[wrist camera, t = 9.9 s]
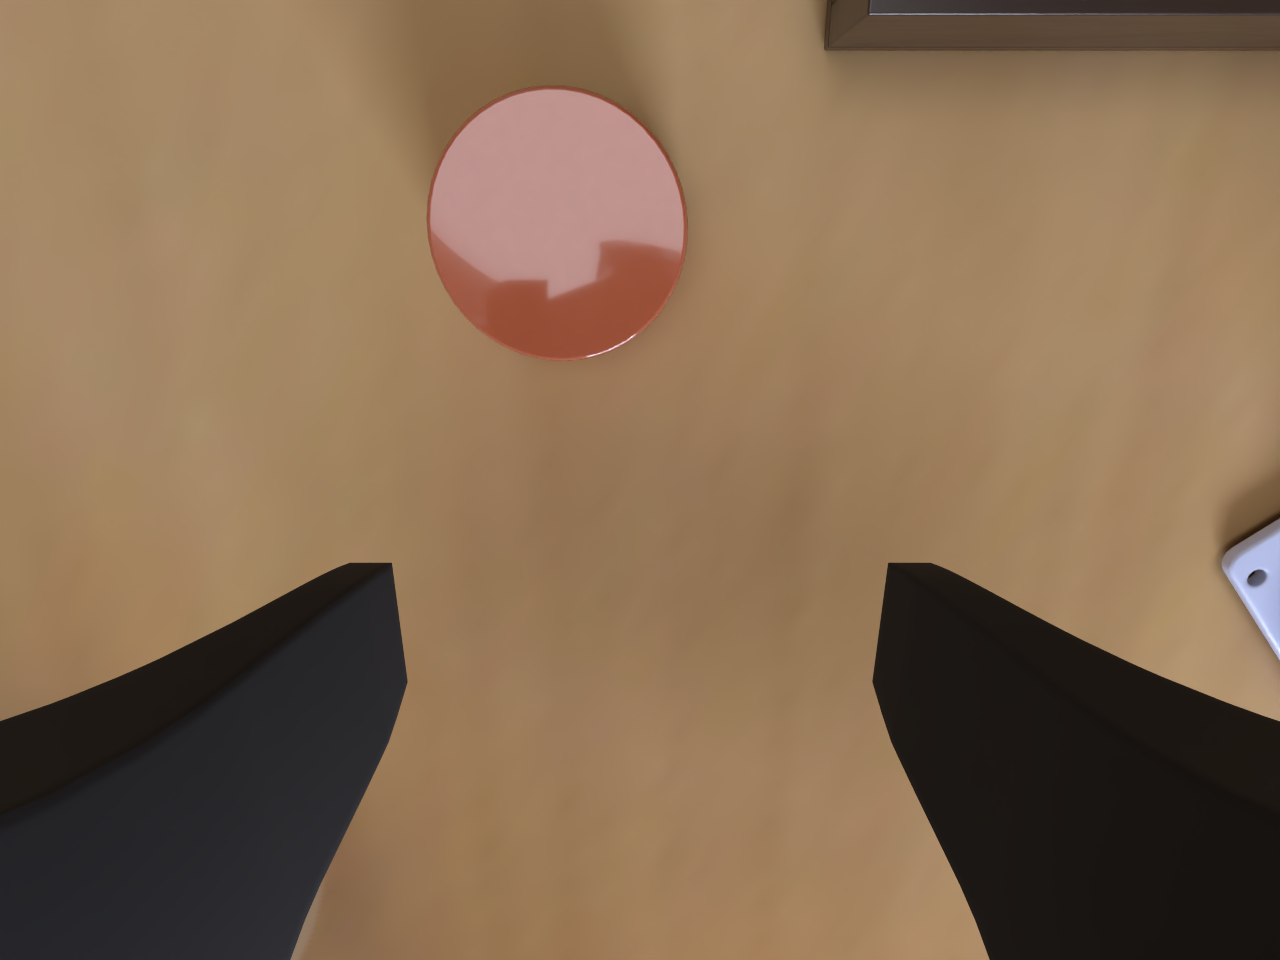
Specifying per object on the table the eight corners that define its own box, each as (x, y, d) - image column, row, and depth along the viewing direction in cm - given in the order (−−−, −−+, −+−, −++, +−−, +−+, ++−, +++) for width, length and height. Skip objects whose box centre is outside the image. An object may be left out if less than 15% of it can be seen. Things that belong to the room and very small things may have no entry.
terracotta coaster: (728, 242, 18) (741, 248, 16) (559, 385, 19) (548, 410, 17) (576, 43, 16) (566, 18, 14) (404, 212, 18) (370, 214, 15)
